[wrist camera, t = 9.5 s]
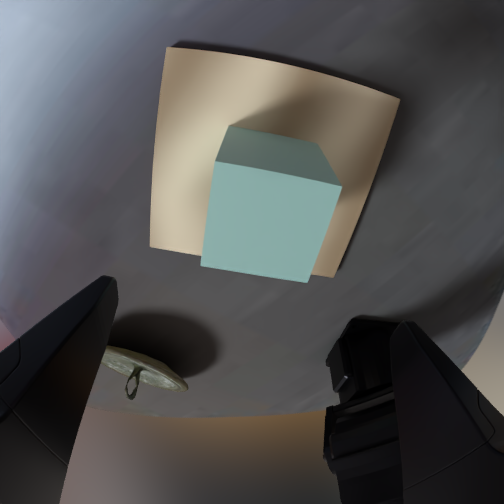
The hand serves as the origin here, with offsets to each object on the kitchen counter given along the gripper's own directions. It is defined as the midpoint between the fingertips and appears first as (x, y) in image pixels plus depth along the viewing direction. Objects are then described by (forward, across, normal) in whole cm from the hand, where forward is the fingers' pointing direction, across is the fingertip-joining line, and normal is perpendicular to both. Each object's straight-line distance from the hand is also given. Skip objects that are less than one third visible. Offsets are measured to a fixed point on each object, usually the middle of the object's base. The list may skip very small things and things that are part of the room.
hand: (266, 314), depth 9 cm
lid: (+12, +8, +20) cm, 25 cm away
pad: (+12, 0, 0) cm, 12 cm away
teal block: (+11, 0, 0) cm, 11 cm away
